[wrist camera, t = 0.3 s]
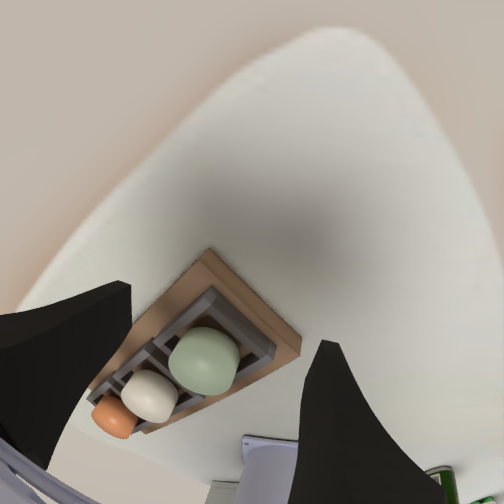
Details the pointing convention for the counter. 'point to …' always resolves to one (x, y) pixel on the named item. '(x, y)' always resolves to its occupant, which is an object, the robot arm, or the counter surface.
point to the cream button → (150, 396)
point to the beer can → (446, 482)
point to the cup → (486, 501)
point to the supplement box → (222, 493)
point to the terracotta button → (114, 417)
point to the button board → (200, 315)
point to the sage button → (205, 361)
